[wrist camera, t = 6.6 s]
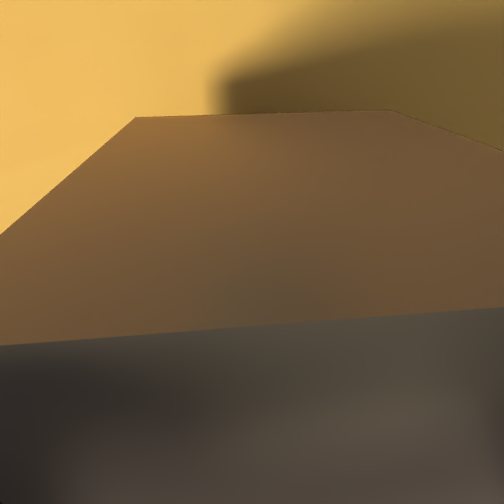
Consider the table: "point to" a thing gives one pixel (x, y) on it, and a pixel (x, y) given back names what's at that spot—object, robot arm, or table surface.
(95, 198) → the grey block
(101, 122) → the table surface
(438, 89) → the table surface
